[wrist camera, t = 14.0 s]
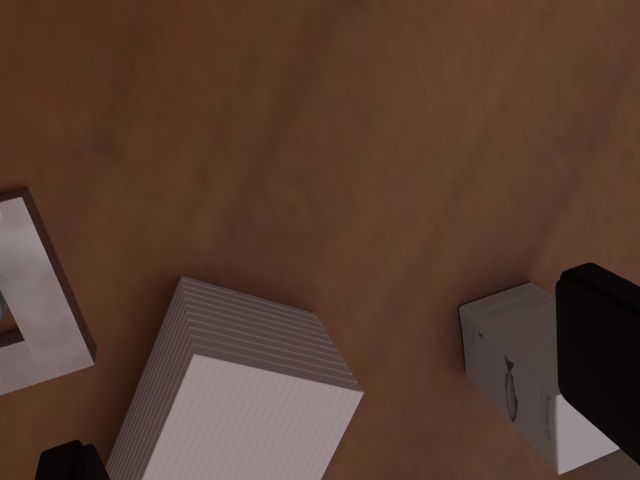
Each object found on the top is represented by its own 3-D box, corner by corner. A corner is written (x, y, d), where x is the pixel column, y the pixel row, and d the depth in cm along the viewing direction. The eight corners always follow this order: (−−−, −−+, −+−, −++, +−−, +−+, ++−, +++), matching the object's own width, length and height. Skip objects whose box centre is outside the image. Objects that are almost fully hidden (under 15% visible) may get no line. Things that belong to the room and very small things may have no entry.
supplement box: (455, 305, 47) (556, 393, 35) (532, 279, 48) (652, 356, 37) (462, 376, 49) (557, 478, 38) (534, 349, 51) (646, 441, 40)
